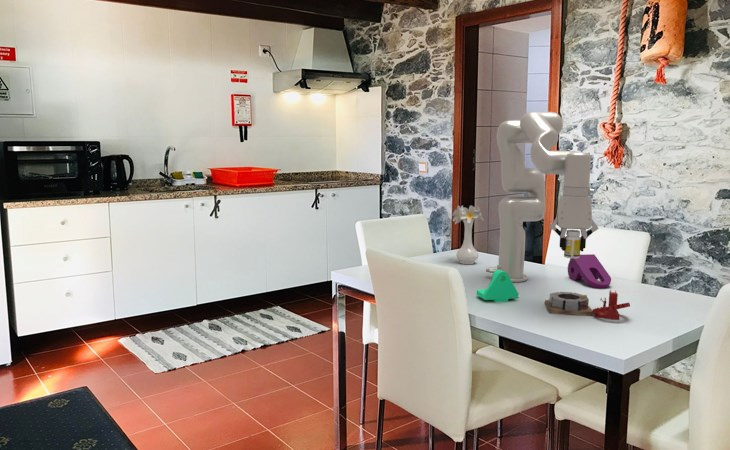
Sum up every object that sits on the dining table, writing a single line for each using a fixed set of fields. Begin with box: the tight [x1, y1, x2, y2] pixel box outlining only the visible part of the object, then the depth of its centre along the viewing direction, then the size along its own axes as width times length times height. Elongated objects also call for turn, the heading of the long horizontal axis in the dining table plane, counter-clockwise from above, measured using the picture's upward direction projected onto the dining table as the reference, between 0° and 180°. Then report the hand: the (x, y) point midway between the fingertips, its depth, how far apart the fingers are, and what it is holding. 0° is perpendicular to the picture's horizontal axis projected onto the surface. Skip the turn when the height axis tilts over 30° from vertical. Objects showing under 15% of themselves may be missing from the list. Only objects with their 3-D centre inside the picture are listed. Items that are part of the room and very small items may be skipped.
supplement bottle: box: [563, 229, 581, 259], centre depth 192 cm, size 5×5×8 cm
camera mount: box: [476, 270, 519, 303], centre depth 206 cm, size 12×8×10 cm, turn 104°
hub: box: [548, 291, 589, 311], centre depth 194 cm, size 11×11×4 cm
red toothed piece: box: [592, 290, 631, 321], centre depth 187 cm, size 11×12×8 cm
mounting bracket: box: [567, 253, 612, 290], centre depth 230 cm, size 10×8×18 cm
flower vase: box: [451, 205, 485, 265], centre depth 261 cm, size 13×18×25 cm
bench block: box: [544, 299, 594, 317], centre depth 194 cm, size 13×11×1 cm
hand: (572, 249), depth 192 cm, fingers closed on supplement bottle, 4 cm apart
